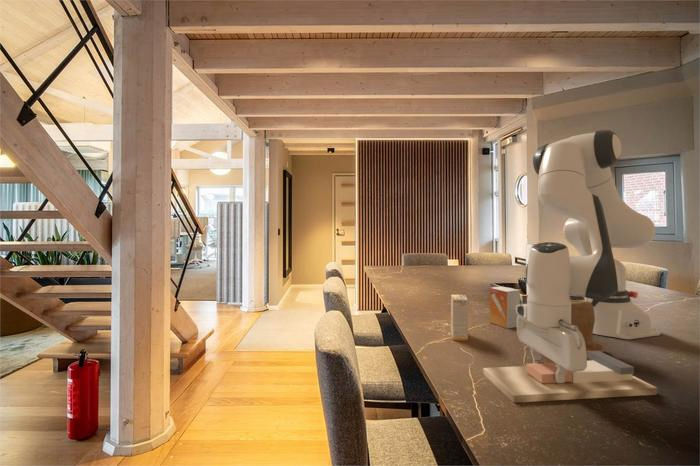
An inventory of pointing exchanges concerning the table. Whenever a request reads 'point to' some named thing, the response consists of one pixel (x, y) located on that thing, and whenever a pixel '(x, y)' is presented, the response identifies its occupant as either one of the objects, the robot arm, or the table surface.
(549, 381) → the pink flat block
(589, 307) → the brown suede boot
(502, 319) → the small box
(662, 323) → the table surface
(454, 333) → the supplement box
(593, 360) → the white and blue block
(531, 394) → the holder board
